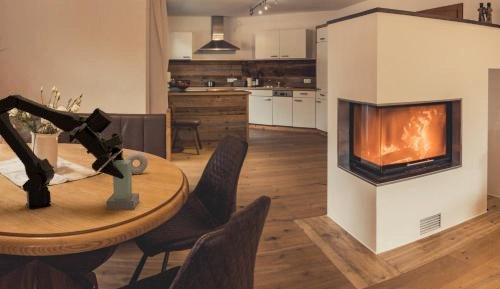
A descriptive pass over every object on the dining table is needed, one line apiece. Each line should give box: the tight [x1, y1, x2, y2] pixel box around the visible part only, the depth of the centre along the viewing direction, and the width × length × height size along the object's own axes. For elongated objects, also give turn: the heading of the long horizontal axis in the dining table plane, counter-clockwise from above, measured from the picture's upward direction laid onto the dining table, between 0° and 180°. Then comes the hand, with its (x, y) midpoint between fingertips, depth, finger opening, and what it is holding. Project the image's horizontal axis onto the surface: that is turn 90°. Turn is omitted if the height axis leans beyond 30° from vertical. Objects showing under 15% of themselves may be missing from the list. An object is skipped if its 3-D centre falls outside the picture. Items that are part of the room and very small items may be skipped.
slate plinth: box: [105, 192, 140, 211], centre depth 142 cm, size 9×9×3 cm
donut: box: [125, 151, 148, 175], centre depth 184 cm, size 10×4×10 cm, turn 109°
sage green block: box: [112, 159, 133, 199], centre depth 141 cm, size 5×5×12 cm
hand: (126, 174), depth 141 cm, fingers open, 9 cm apart
